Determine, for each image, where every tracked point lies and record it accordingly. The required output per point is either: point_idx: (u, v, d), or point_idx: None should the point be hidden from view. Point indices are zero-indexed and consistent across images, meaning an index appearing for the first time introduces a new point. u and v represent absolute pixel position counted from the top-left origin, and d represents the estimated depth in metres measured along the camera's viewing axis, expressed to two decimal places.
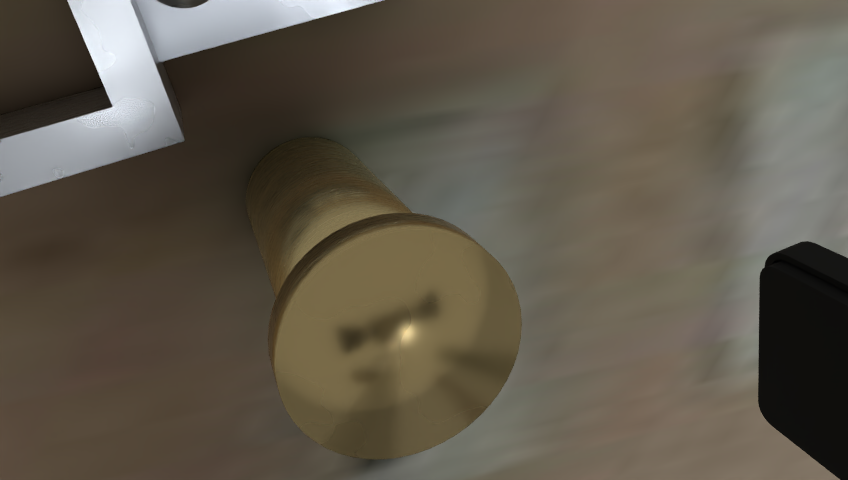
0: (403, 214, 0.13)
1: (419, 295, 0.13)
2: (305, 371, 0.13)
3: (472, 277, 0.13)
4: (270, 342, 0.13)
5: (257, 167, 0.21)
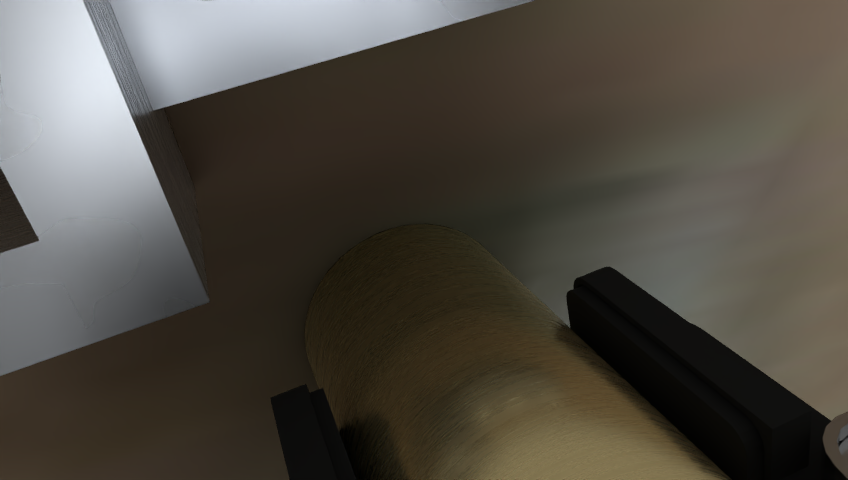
0: None
1: None
2: None
3: None
4: None
5: (327, 280, 0.12)
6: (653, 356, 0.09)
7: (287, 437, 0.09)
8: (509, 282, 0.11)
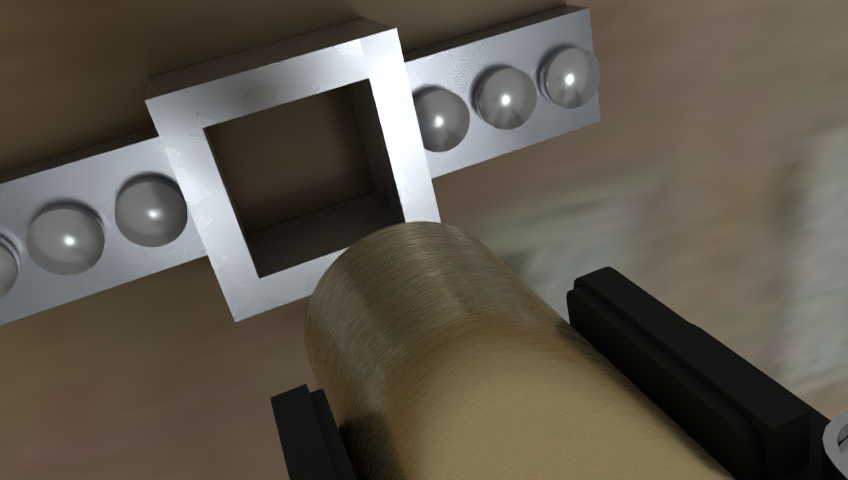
0: None
1: None
2: None
3: None
4: None
5: (326, 277, 0.12)
6: (653, 356, 0.09)
7: (287, 437, 0.09)
8: (509, 279, 0.11)
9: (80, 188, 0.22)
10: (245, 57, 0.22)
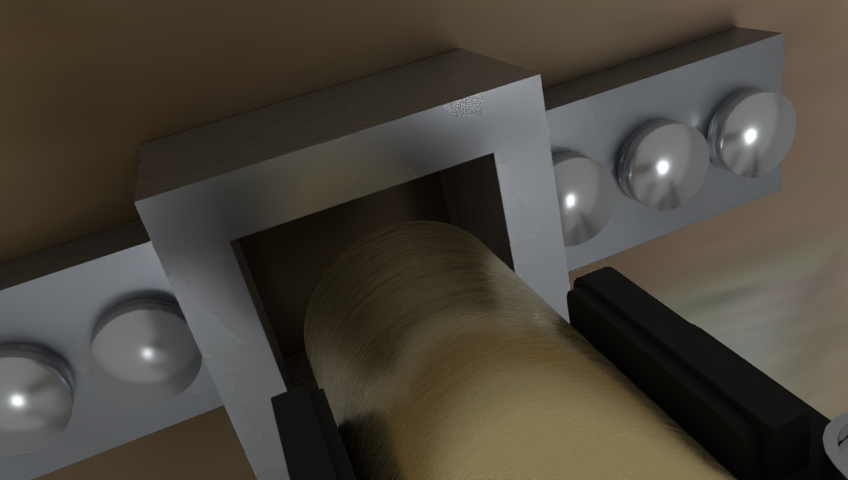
0: None
1: None
2: None
3: None
4: None
5: (326, 276, 0.12)
6: (653, 356, 0.09)
7: (287, 437, 0.09)
8: (509, 278, 0.11)
9: (35, 321, 0.14)
10: (292, 115, 0.14)
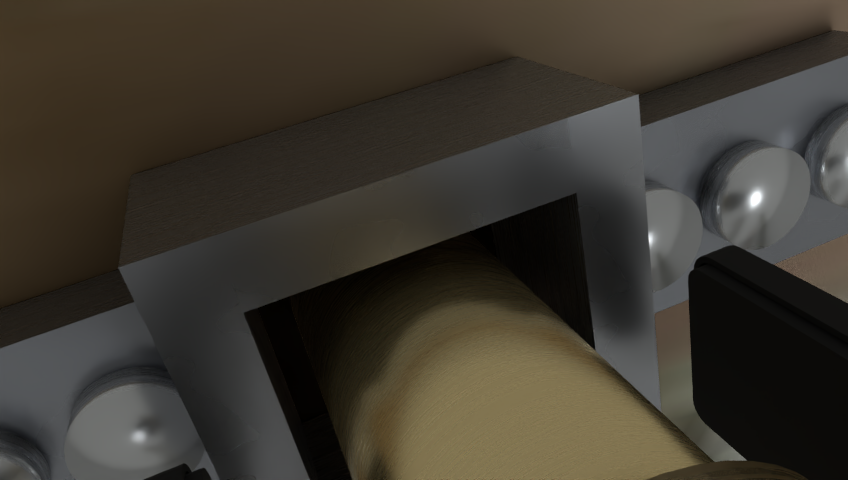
0: (712, 471, 0.06)
1: None
2: None
3: None
4: None
5: None
6: (803, 332, 0.08)
7: None
8: (466, 239, 0.12)
9: None
10: (319, 141, 0.11)
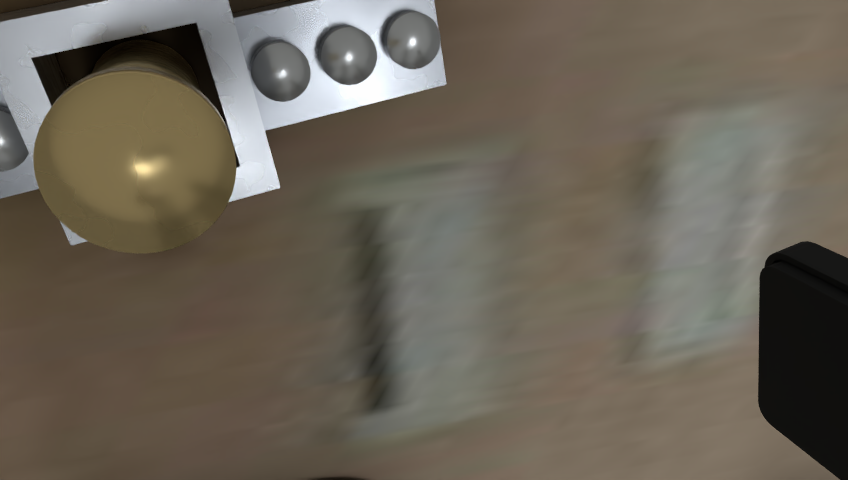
0: (142, 67, 0.18)
1: (147, 125, 0.18)
2: (58, 173, 0.18)
3: (189, 116, 0.18)
4: None
5: None
6: None
7: None
8: (166, 54, 0.25)
9: None
10: None
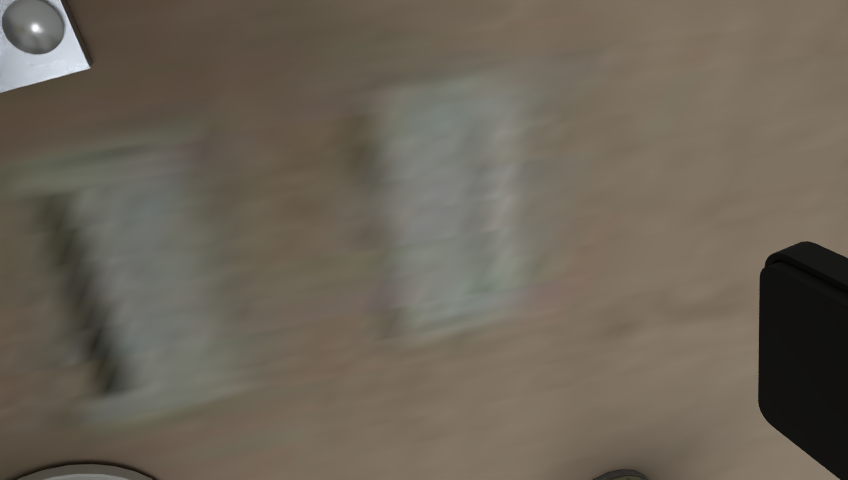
0: None
1: None
2: None
3: None
4: None
5: None
6: None
7: None
8: None
9: None
10: None
